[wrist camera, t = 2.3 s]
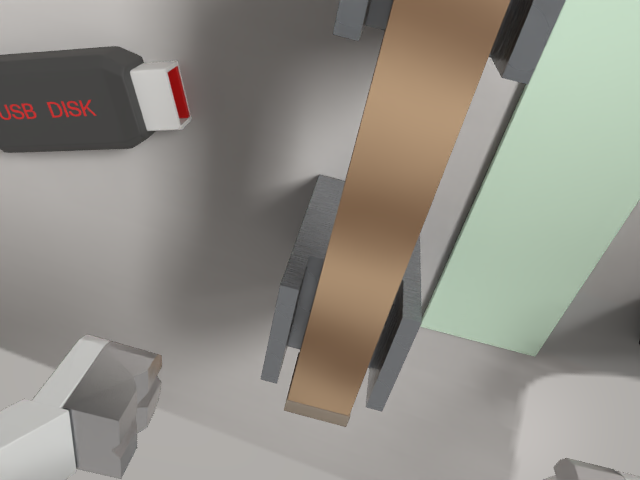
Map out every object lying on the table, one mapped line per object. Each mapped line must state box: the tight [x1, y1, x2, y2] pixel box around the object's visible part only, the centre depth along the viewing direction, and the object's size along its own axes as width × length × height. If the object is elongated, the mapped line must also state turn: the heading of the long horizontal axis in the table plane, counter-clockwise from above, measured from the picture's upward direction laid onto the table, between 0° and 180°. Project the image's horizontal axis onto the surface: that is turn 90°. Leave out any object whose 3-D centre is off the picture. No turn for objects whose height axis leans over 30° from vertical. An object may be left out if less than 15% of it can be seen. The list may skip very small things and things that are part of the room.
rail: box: [284, 0, 510, 427], centre depth 19 cm, size 24×3×3 cm, turn 168°
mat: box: [420, 0, 640, 357], centre depth 26 cm, size 8×28×1 cm, turn 168°
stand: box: [261, 175, 422, 411], centre depth 27 cm, size 6×6×10 cm
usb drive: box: [0, 46, 192, 153], centre depth 28 cm, size 5×12×3 cm, turn 95°
